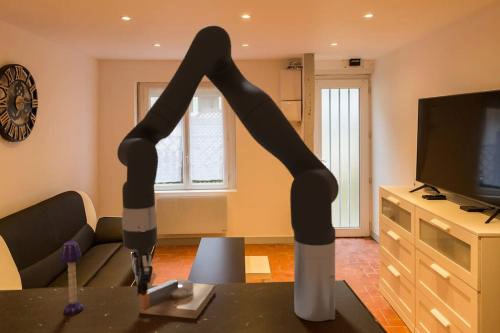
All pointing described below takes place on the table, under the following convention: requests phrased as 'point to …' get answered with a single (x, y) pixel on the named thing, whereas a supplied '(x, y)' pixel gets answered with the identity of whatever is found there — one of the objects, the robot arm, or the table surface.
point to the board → (184, 303)
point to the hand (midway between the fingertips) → (142, 297)
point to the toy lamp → (71, 275)
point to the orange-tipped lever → (165, 293)
